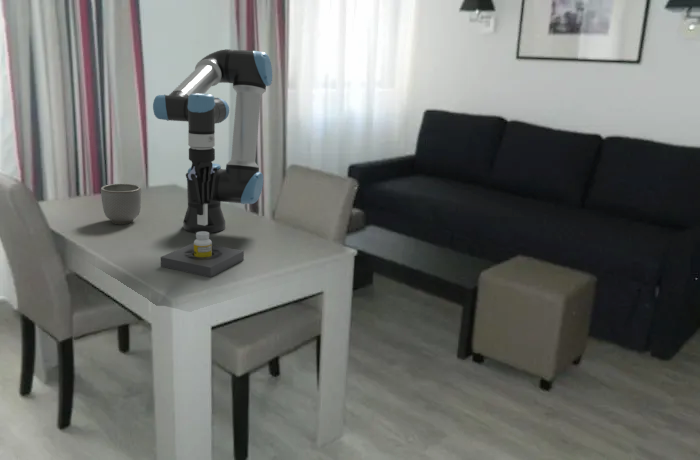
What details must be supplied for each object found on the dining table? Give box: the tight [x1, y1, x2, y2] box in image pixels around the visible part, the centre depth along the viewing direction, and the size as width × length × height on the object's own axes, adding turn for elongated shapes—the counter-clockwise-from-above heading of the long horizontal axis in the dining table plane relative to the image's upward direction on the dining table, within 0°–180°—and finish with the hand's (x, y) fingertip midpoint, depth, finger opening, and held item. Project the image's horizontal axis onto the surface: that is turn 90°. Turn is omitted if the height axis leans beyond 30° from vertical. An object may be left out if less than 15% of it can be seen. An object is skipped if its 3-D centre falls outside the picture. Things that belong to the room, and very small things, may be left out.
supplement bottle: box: [193, 231, 213, 257], centre depth 198 cm, size 5×5×10 cm
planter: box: [100, 183, 142, 225], centre depth 236 cm, size 14×14×13 cm
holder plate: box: [160, 242, 245, 278], centre depth 199 cm, size 18×18×3 cm
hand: (202, 224), depth 196 cm, fingers closed
